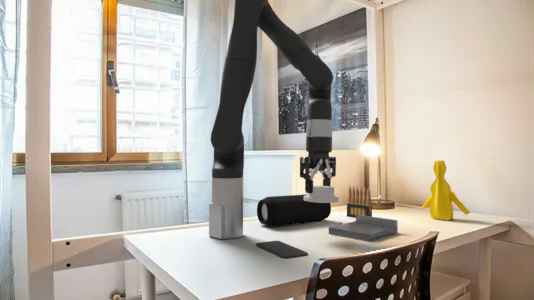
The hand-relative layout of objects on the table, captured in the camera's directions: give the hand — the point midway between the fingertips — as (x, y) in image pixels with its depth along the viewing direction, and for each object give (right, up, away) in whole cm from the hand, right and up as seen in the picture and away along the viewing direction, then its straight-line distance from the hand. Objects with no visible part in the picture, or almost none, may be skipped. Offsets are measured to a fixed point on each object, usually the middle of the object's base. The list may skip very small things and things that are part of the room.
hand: (318, 192), depth 107 cm
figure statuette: (+50, -14, +30) cm, 60 cm away
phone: (-11, -14, -14) cm, 23 cm away
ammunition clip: (+20, -14, +33) cm, 41 cm away
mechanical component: (+1, -3, -1) cm, 3 cm away
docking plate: (+15, -13, +5) cm, 20 cm away
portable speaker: (-5, -14, +22) cm, 26 cm away
